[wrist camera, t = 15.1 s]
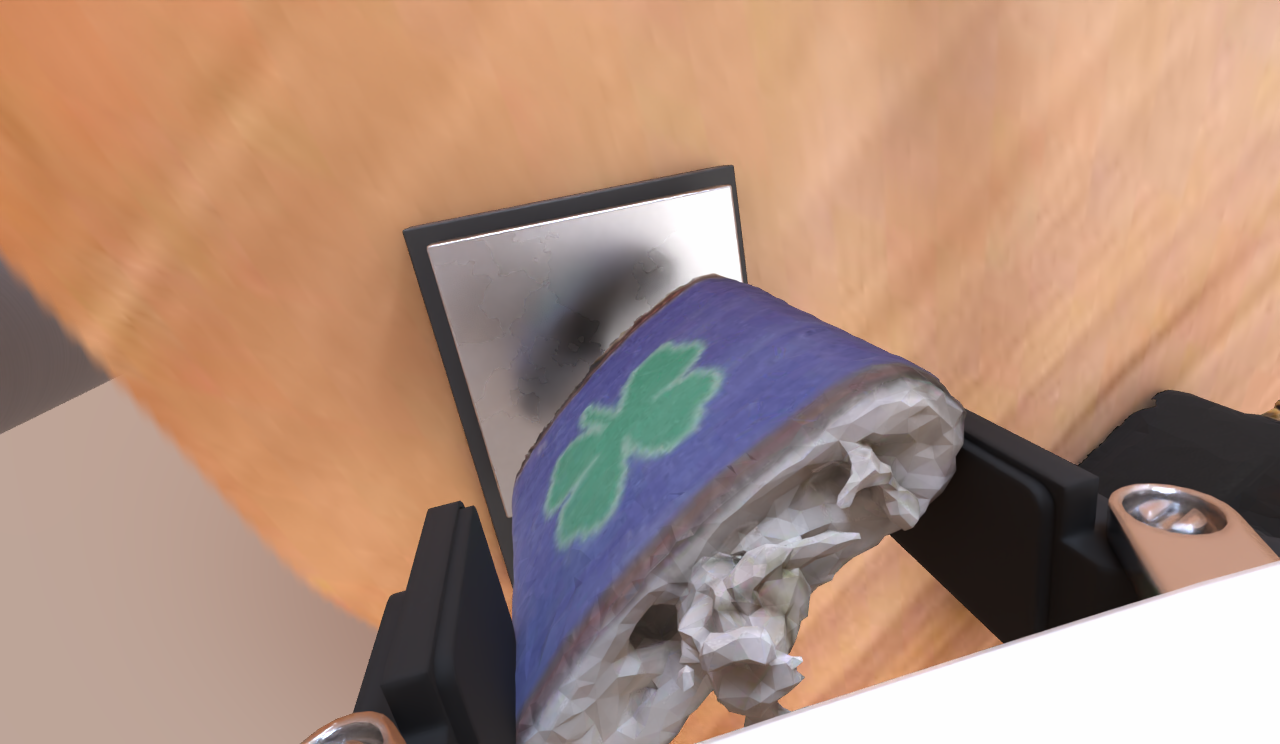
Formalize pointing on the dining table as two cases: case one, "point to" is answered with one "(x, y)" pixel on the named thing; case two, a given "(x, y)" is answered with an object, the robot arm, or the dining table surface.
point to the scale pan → (567, 302)
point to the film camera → (1198, 455)
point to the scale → (511, 217)
